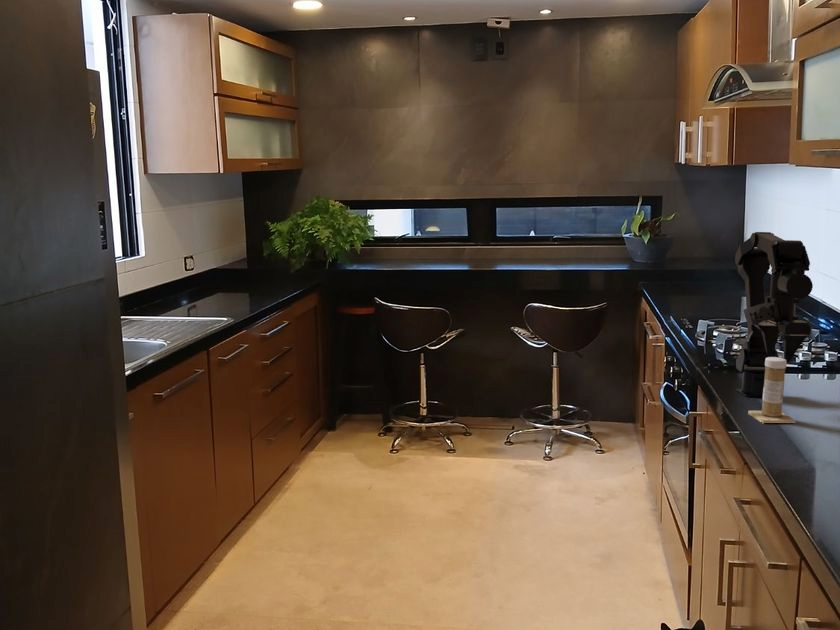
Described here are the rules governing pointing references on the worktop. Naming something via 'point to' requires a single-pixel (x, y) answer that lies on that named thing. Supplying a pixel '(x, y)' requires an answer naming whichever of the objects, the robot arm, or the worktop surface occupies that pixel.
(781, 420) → the trivet
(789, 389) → the worktop surface
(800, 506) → the worktop surface
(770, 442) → the worktop surface
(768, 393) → the sprinkles bottle
